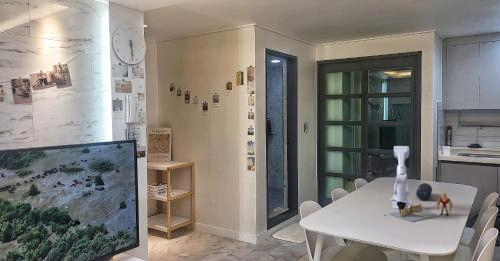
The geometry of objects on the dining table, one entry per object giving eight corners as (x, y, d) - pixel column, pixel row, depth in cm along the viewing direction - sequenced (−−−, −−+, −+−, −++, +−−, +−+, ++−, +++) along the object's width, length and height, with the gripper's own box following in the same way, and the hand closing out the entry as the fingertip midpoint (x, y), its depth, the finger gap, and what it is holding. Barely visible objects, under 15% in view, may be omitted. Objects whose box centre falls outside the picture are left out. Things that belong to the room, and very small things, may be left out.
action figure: (435, 214, 236) (436, 192, 236) (436, 213, 239) (437, 190, 238) (452, 216, 231) (452, 193, 230) (453, 215, 234) (453, 192, 233)
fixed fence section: (411, 211, 243) (411, 204, 242) (420, 209, 246) (420, 203, 246) (412, 211, 241) (412, 205, 241) (421, 209, 245) (421, 203, 245)
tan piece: (408, 211, 241) (408, 205, 241) (410, 212, 240) (410, 206, 240) (400, 216, 232) (400, 209, 232) (402, 216, 231) (402, 210, 231)
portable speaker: (418, 193, 294) (418, 181, 294) (432, 195, 289) (432, 182, 289) (415, 200, 272) (415, 187, 272) (430, 202, 267) (430, 189, 267)
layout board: (388, 214, 239) (388, 213, 239) (416, 209, 250) (416, 208, 250) (412, 222, 222) (412, 221, 222) (440, 216, 233) (440, 215, 233)
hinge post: (407, 211, 242) (407, 205, 242) (410, 211, 243) (410, 204, 243) (410, 212, 240) (410, 206, 240) (413, 212, 241) (413, 205, 241)
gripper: (387, 192, 237) (387, 212, 238) (409, 195, 226) (409, 217, 227) (393, 190, 242) (393, 210, 243) (414, 193, 231) (414, 214, 231)
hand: (401, 213), depth 235 cm, fingers closed
